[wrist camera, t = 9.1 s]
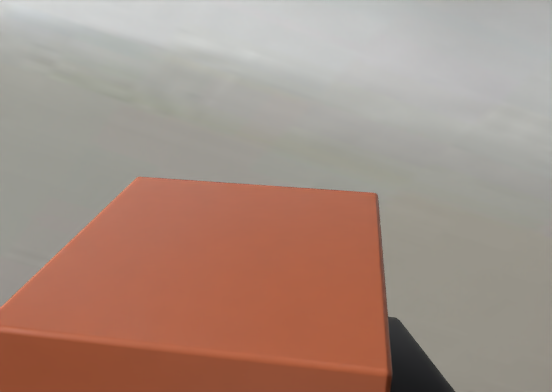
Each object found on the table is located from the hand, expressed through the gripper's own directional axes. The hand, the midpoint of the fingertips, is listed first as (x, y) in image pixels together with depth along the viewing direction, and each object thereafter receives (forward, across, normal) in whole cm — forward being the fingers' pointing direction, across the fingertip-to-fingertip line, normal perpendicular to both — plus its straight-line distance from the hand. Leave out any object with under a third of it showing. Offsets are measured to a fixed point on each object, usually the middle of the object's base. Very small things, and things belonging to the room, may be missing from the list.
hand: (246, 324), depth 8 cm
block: (+1, 0, 0) cm, 1 cm away
